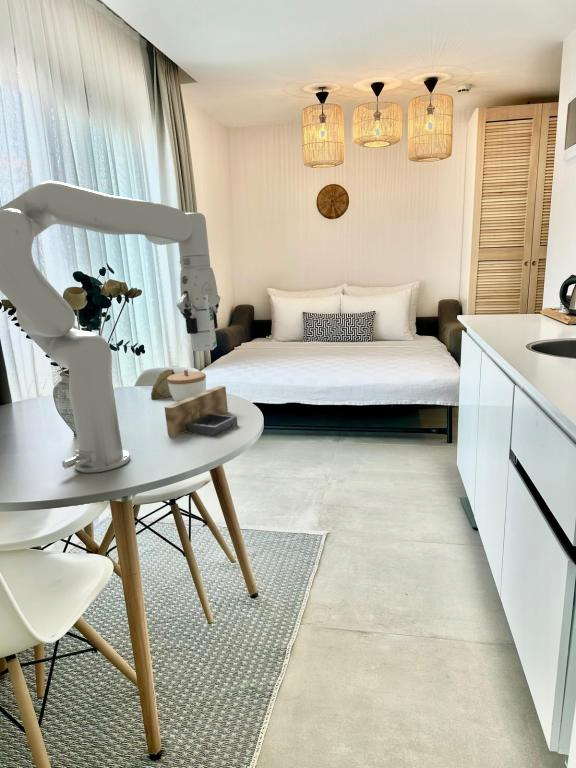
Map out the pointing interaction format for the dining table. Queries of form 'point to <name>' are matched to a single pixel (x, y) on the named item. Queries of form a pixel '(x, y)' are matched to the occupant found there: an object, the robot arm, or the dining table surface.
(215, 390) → the board
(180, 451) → the dining table surface
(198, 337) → the syrup box
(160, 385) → the rock
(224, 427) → the tray
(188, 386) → the lidded bowl
